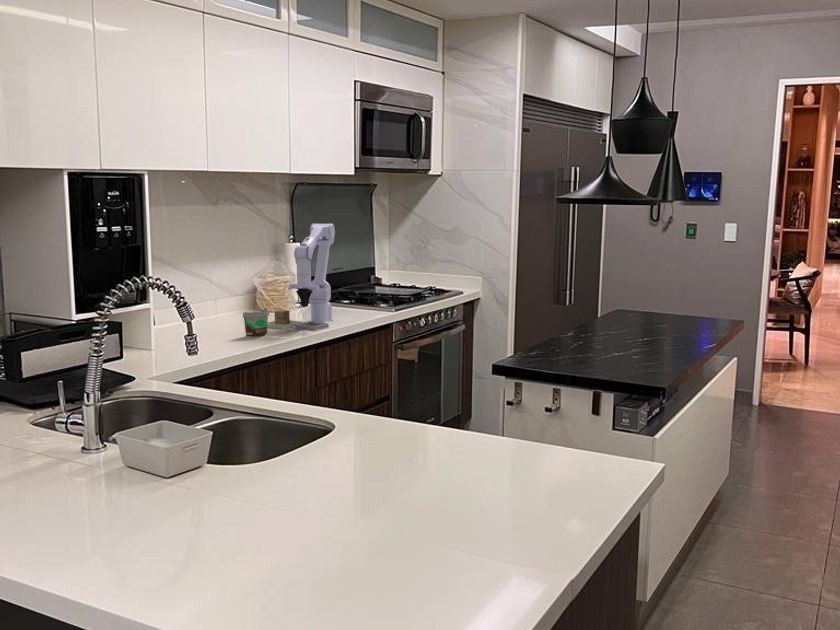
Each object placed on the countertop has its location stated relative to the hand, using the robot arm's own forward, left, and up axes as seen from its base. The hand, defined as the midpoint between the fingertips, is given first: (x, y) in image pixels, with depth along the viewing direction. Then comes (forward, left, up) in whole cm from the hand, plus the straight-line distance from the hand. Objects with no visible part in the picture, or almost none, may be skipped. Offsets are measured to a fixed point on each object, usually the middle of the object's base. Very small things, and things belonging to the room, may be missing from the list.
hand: (304, 306), depth 352 cm
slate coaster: (+9, +1, -9) cm, 13 cm away
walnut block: (+2, -11, -9) cm, 14 cm away
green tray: (+2, -11, -9) cm, 15 cm away
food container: (+22, -6, -10) cm, 25 cm away
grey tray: (0, +3, -9) cm, 10 cm away
